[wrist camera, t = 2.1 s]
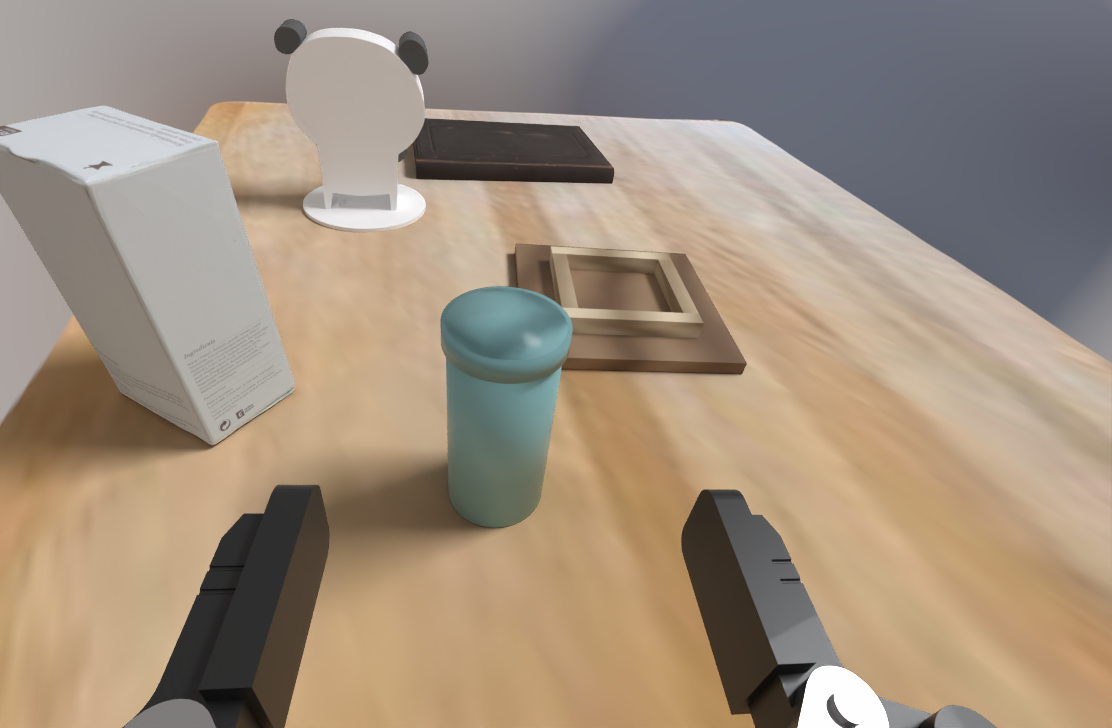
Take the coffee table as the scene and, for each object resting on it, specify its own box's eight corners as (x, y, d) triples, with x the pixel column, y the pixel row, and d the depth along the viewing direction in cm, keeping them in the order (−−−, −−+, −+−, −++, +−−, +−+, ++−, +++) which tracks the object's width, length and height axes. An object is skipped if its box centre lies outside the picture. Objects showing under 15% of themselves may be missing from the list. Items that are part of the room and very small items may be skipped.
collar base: (682, 263, 52) (689, 240, 50) (742, 373, 39) (753, 348, 38) (514, 253, 49) (516, 229, 48) (523, 367, 37) (526, 339, 36)
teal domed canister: (541, 449, 32) (565, 289, 25) (549, 530, 28) (580, 366, 21) (447, 448, 31) (444, 283, 24) (441, 532, 27) (435, 362, 20)
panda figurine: (430, 184, 59) (425, 24, 49) (434, 233, 50) (429, 51, 41) (311, 180, 56) (282, 9, 46) (295, 231, 48) (254, 35, 38)
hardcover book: (411, 135, 71) (410, 117, 70) (577, 142, 77) (579, 126, 76) (416, 183, 60) (415, 163, 58) (611, 188, 66) (615, 169, 64)
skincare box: (299, 391, 33) (235, 140, 23) (207, 455, 29) (85, 180, 19) (203, 341, 35) (111, 96, 26) (106, 393, 31) (-47, 122, 22)
